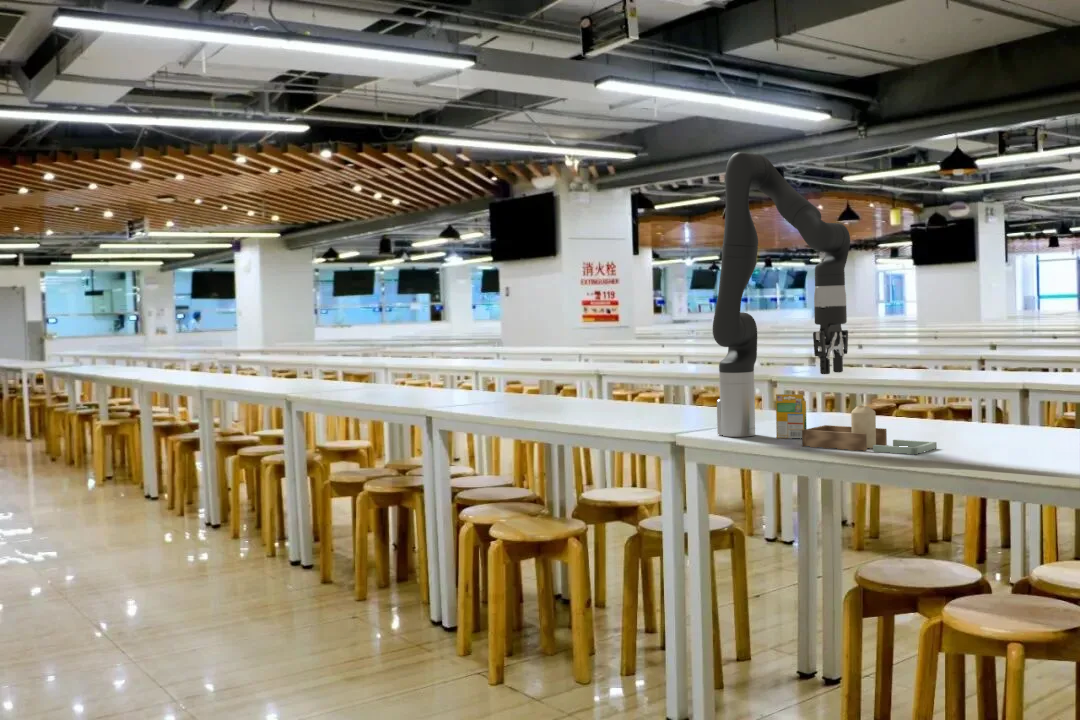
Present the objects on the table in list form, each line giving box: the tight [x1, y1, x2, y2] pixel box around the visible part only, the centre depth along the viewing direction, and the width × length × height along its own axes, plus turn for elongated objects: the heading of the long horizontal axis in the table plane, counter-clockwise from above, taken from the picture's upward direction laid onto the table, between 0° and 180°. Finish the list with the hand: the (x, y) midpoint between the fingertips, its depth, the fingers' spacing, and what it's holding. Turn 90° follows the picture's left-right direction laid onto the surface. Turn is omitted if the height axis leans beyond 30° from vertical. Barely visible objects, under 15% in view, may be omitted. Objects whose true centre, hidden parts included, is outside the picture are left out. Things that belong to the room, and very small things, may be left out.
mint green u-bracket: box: [872, 439, 938, 455], centre depth 224 cm, size 10×12×2 cm
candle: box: [850, 405, 877, 449], centre depth 231 cm, size 6×6×10 cm
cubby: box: [801, 424, 888, 452], centre depth 235 cm, size 16×12×4 cm
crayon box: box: [775, 393, 808, 440], centre depth 252 cm, size 7×3×12 cm, turn 62°
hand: (831, 373), depth 236 cm, fingers open, 6 cm apart
